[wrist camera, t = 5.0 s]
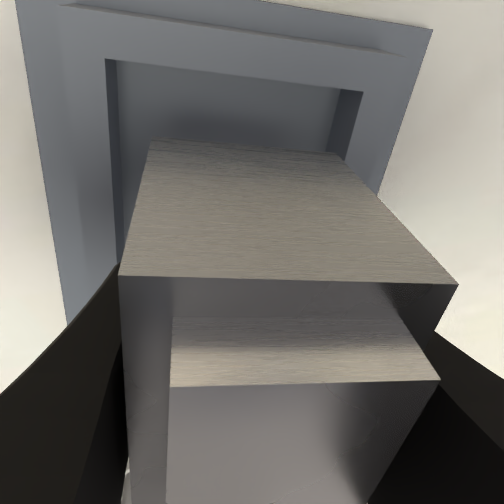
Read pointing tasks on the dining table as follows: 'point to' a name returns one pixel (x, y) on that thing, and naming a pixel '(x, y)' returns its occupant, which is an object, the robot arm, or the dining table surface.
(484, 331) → the dining table surface
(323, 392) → the block
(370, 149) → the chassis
